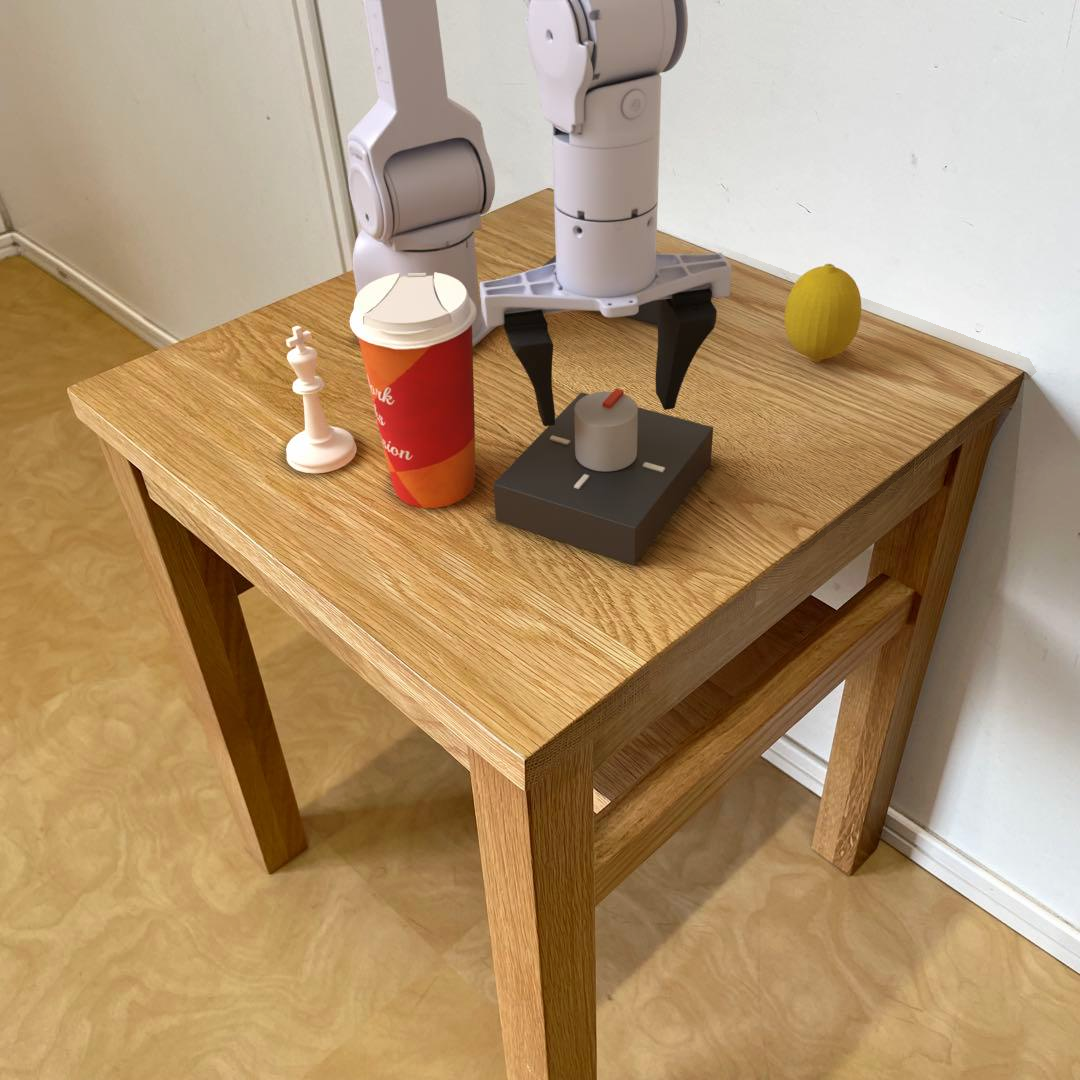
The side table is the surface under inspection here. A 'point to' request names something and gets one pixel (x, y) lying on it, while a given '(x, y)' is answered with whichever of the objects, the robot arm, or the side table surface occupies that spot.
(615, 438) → the timer dial
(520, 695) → the side table surface
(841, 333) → the lemon
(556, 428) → the panel
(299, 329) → the chess piece
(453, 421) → the paper cup
